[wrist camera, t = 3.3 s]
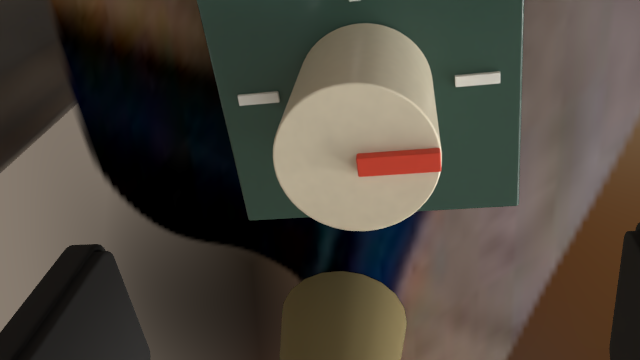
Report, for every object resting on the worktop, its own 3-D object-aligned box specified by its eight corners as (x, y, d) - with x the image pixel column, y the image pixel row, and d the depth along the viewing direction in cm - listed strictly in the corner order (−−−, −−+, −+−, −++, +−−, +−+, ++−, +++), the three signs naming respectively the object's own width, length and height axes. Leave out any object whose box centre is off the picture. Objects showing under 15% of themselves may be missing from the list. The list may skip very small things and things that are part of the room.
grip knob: (308, 152, 22) (285, 242, 17) (288, 30, 19) (255, 95, 15) (435, 143, 21) (446, 234, 16) (429, 15, 19) (439, 79, 14)
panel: (263, 181, 26) (247, 223, 23) (209, -68, 21) (182, -51, 18) (506, 165, 24) (519, 209, 22) (510, -109, 19) (528, -96, 17)
